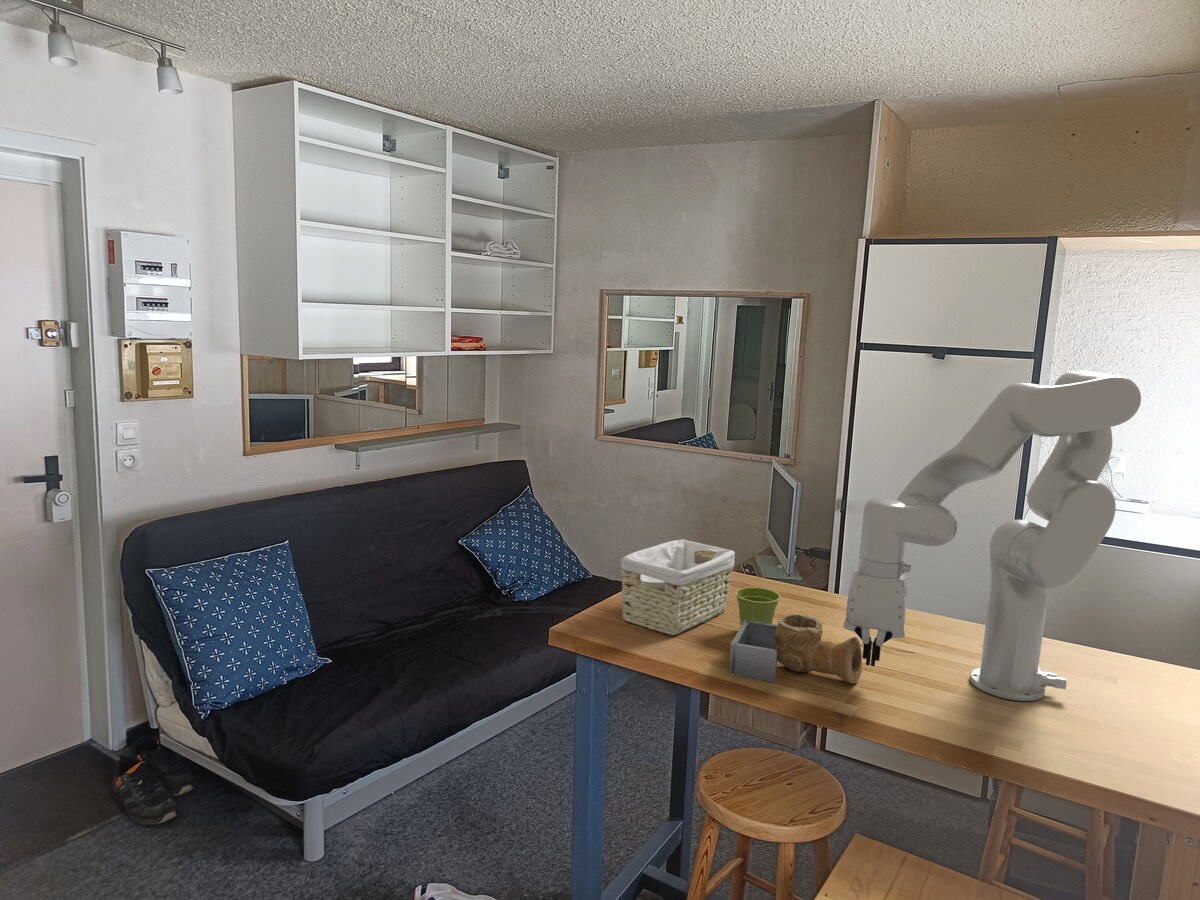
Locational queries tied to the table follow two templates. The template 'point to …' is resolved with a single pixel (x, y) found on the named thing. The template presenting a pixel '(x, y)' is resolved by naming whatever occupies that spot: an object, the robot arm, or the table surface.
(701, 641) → the table surface
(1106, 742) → the table surface
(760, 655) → the gray channel bracket
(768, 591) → the plant pot
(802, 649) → the pipe
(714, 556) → the storage basket
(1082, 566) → the robot arm
